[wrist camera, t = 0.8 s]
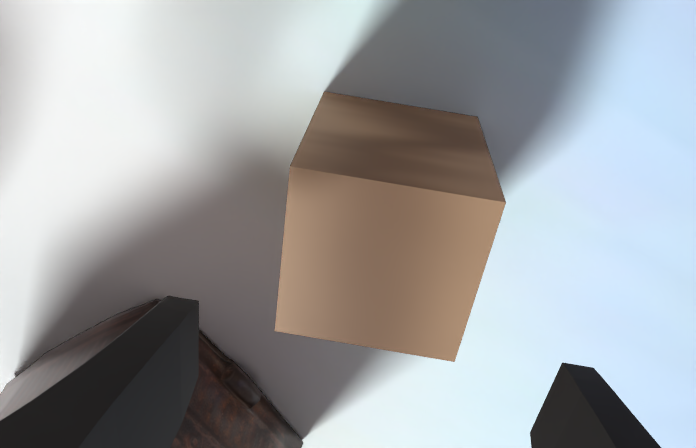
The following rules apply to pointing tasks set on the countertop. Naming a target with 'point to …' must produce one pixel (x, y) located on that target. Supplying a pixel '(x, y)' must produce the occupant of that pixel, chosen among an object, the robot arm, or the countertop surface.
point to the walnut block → (387, 226)
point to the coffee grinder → (205, 404)
